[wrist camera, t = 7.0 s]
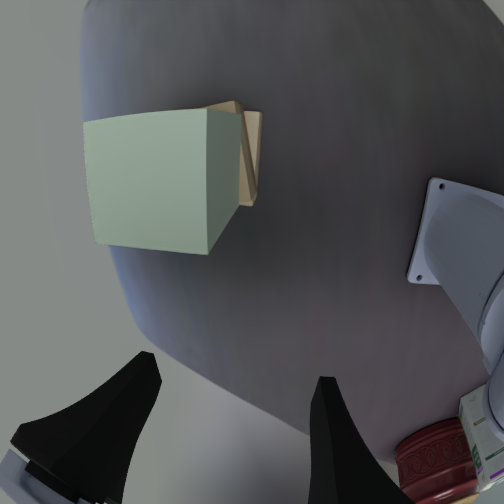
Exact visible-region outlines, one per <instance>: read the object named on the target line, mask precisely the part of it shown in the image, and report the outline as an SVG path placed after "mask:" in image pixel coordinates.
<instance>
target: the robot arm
mask: <svg viewBox="0 0 504 504" xmlns="http://www.w3.org/2000/svg"><path fill="white" fill-rule="evenodd" d="M441 183H442V184H443V187H442V188H441V189H439V185H440V184H441ZM418 275H420V277H419V278H417V276H418ZM407 279H408V281H409V282H410V283H419V284H435V285H441V286H442V288H443V289H444V290H445V292H446V293H447V295H448V296H449V298H450V299H451V300H452V302H453V303H454V305H455V306H456V308H457V309H458V311H459V312H460V314H461V316H462V317H463V319H464V320H465V322H466V323H467V325H468V327H469V328H470V330H471V331H472V333H473V335H474V336H475V338H476V340H477V341H478V343H479V345H480V347H481V348H482V350H483V352H484V358H483V361H482V362H483V364H484V365H485V367H486V369H487V371H488V373H489V375H490V376H489V378H488V380H487V383H486V385H485V389H484V392H483V411H484V416H485V419H486V422H487V424H488V426H489V427H490V429H491V431H492V432H493V433H494V434H495V436H497V437H498V438H499V439H500V440H501V441H503V442H504V196H503V195H500V194H496V193H493V192H490V191H486V190H483V189H479V188H476V187H472V186H468V185H465V184H461V183H457V182H453V181H449V180H444V179H440V178H436V177H433V178H431V179H430V180H429V183H428V189H427V194H426V200H425V205H424V210H423V215H422V219H421V224H420V228H419V232H418V237H417V241H416V244H415V248H414V252H413V256H412V259H411V263H410V266H409V270H408V273H407ZM161 383H162V380H161V376H160V373H159V370H158V367H157V363H156V360H155V357H154V354H153V353H148V352H145V351H141V352H140V353H139V354H138V355H136V356H135V357H134V358H133V359H132V360H131V361H130V362H129V363H127V364H126V365H125V366H124V367H123V368H122V369H121V370H120V371H118V372H117V373H116V374H115V375H114V376H112V377H111V378H110V379H109V380H108V381H106V382H105V383H104V384H102V385H101V386H100V387H98V388H97V389H96V390H94V391H93V392H92V393H90V394H89V395H87V396H86V397H84V398H83V399H81V400H80V401H78V402H76V403H74V404H73V405H71V406H69V407H67V408H65V409H63V410H61V411H59V412H57V413H54V414H52V415H49V416H47V417H44V418H42V419H38V420H35V421H31V422H28V423H24V424H21V425H20V426H19V428H18V429H17V431H16V433H15V434H14V436H13V437H12V439H11V441H10V442H11V444H12V445H13V446H14V447H15V448H17V449H18V450H19V451H20V452H21V453H22V454H24V455H25V456H26V457H27V458H28V459H30V461H29V463H27V462H26V461H25V460H23V459H22V458H21V457H20V456H18V455H17V454H16V453H15V452H13V451H12V450H11V449H9V450H8V452H7V454H6V455H5V457H4V459H3V461H2V462H1V464H0V488H1V489H2V490H3V491H4V492H5V493H6V494H7V495H8V496H9V497H10V498H11V499H12V500H13V501H14V502H15V503H16V504H95V503H96V502H97V503H99V504H104V502H105V503H107V504H122V498H123V492H124V486H125V482H126V477H127V473H128V469H129V465H130V461H131V458H132V455H133V452H134V449H135V445H136V442H137V440H138V438H139V435H140V433H141V431H142V429H143V427H144V425H145V422H146V420H147V418H148V416H149V414H150V412H151V410H152V408H153V406H154V404H155V401H156V399H157V396H158V393H159V390H160V386H161ZM310 443H311V480H310V490H309V498H308V504H416V503H415V502H414V501H413V500H412V499H411V498H409V497H408V496H407V495H406V494H405V493H404V492H403V491H402V490H401V489H400V488H399V487H398V486H397V485H396V484H395V483H394V482H393V481H392V480H391V478H390V477H389V476H388V475H387V473H386V472H385V471H384V470H383V469H382V467H381V466H380V465H379V464H378V462H377V461H376V459H375V458H374V457H373V455H372V454H371V452H370V451H369V449H368V448H367V446H366V444H365V443H364V441H363V439H362V437H361V436H360V434H359V432H358V430H357V428H356V426H355V424H354V422H353V420H352V418H351V416H350V414H349V412H348V410H347V407H346V405H345V403H344V400H343V398H342V395H341V393H340V390H339V387H338V384H337V381H336V378H335V377H322V376H320V377H319V380H318V383H317V386H316V390H315V393H314V395H313V398H312V401H311V410H310Z"/></svg>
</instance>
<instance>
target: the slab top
mask: <svg viewBox="0 0 504 504" xmlns="http://www.w3.org/2000/svg"><path fill="white" fill-rule="evenodd" d="M198 109H213V110H219V111H225V112H231V113H236V114H242V119H241V150H240V186H239V203H243V202H251V201H252V199H253V197H254V195H255V193H256V192H257V185H256V179H255V173H254V167H253V161H252V155H251V149H250V143H249V137H248V131H247V125H246V120H245V114H244V108H243V104H240V103H238V102H236V101H230V102H225V103H220V104H215V105H211V106H206V107H202V108H198Z"/></svg>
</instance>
